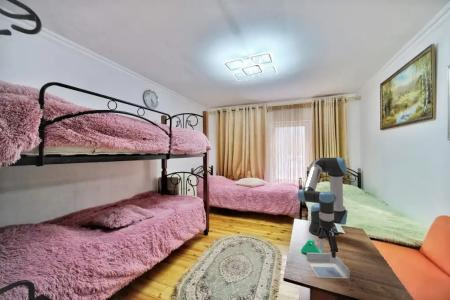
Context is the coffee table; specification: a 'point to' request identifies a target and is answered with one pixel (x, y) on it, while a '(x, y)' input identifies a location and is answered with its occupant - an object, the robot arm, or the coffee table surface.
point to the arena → (327, 266)
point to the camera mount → (310, 247)
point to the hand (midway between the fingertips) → (326, 255)
